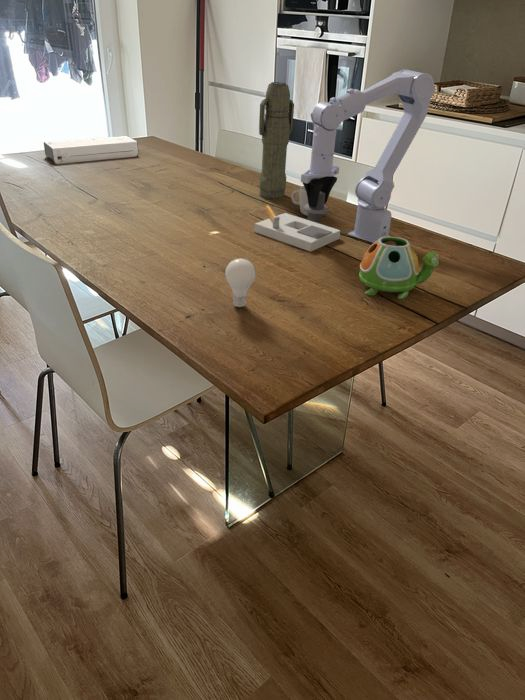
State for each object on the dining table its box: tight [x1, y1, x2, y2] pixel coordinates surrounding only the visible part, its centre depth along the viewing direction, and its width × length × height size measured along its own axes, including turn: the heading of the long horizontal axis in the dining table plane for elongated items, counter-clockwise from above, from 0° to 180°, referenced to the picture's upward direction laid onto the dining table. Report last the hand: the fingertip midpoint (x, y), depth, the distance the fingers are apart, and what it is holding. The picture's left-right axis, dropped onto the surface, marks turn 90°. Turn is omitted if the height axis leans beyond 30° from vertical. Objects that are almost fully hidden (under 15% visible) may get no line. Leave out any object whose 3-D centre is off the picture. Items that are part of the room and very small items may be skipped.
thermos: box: [258, 81, 295, 200], centre depth 183 cm, size 9×12×35 cm
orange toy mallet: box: [265, 204, 280, 228], centre depth 162 cm, size 2×13×3 cm, turn 12°
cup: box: [291, 185, 308, 217], centre depth 176 cm, size 11×8×8 cm
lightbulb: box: [224, 257, 256, 309], centre depth 119 cm, size 6×6×11 cm
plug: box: [304, 191, 330, 223], centre depth 153 cm, size 7×7×7 cm
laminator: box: [43, 135, 139, 165], centre depth 223 cm, size 34×12×6 cm, turn 123°
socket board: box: [254, 212, 341, 252], centre depth 160 cm, size 20×14×3 cm
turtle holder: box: [358, 236, 440, 300], centre depth 131 cm, size 12×18×12 cm
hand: (317, 204), depth 152 cm, fingers closed on plug, 4 cm apart
